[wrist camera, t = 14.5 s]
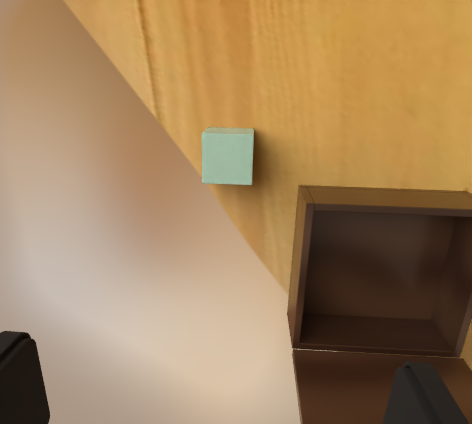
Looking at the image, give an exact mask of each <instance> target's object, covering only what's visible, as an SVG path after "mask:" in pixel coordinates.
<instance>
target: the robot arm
mask: <svg viewBox="0 0 472 424" xmlns="http://www.w3.org/2000/svg"><path fill="white" fill-rule="evenodd" d="M49 419H50V411H49V406H48V401H47V396H46V391H45V386H44V381H43V376H42V371H41V366H40V361H39V356H38V351H37V346H36V342H35V341H34V340H33V339H31V337H30V335H29V334H28V333H25V332H11V331H4V332H1V333H0V424H48V423H49ZM382 424H469V422H468V421H467V419H466V417H465V416H464V414H463V413H462V411H461V409H460V408H459V406H458V404H457V403H456V401H455V400H454V398H453V396H452V395H451V393H450V391H449V390H448V388H447V387H446V385H445V383H444V382H443V380H442V378H441V377H440V375H439V374H438V372H437V370H436V369H435V367H434V366H433V365H432V364H431V363H423V362H410V361H406V362H405V363H404V364H403V367H398V368H397V369H396V372H395V376H394V380H393V384H392V388H391V392H390V395H389V399H388V403H387V407H386V411H385V415H384V419H383V423H382Z"/></svg>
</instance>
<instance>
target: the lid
mask: <svg viewBox="0 0 472 424" xmlns="http://www.w3.org/2000/svg"><path fill="white" fill-rule="evenodd" d="M292 356H293V364H294V372H295V381H296V388H297V397H298V405H299V413H300V422H301V424H382V423H383V419H384V415H385V411H386V407H387V403H388V399H389V395H390V392H391V388H392V384H393V380H394V376H395V372H396V369H397V368H398V367H403V364H404V363H405V362H406V361H410V362H423V363H431V364H432V365H433V366H434V367H435V369H436V370H437V372H438V374H439V375H440V377H441V378H442V380H443V382H444V383H445V385H446V387H447V388H448V390H449V391H450V393H451V395H452V396H453V398H454V400H455V401H456V403H457V404H458V406H459V408H460V409H461V411H462V413H463V414H464V416H465V417H466V419H467V421H468V422H469V424H472V371H471V369H470V368H469V366H468V365H467V363H466V362H465V361H464V359H459V358H440V357H422V356H404V355H386V354H368V353H350V352H332V351H314V350H295V349H293V354H292Z"/></svg>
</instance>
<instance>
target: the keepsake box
mask: <svg viewBox="0 0 472 424" xmlns="http://www.w3.org/2000/svg"><path fill="white" fill-rule="evenodd" d="M287 315H288V322H289V329H290V336H291V343H292V348H294V349H295V348H296V349H311V350H328V351H329V350H330V351H346V352H365V353H383V354H401V355H419V356H437V357H456V358H459V357H460V354H461V351H462V348H463V344H464V341H465V338H466V335H467V331H468V328H469V325H470V322H471V318H472V194H470V193H468V192H466V191H443V190H415V189H388V188H361V187H334V186H306V185H299V187H298V198H297V209H296V221H295V232H294V243H293V255H292V266H291V277H290V289H289V300H288V312H287Z"/></svg>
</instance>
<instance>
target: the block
mask: <svg viewBox="0 0 472 424" xmlns="http://www.w3.org/2000/svg"><path fill="white" fill-rule="evenodd" d="M253 146H254V129H252V128H219V127H208V128H207V129H206V130H205V131H204V132H203V133H202V183H206V184H233V185H252V170H253Z"/></svg>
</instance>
